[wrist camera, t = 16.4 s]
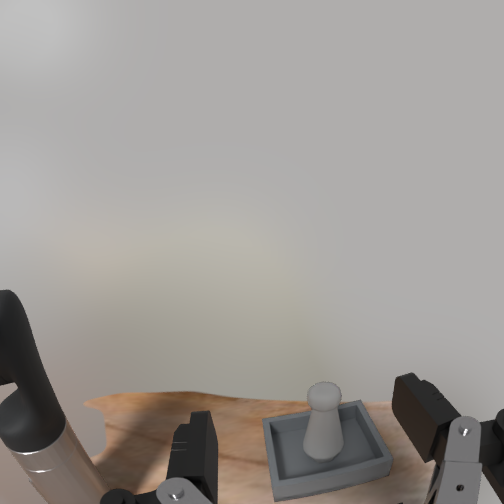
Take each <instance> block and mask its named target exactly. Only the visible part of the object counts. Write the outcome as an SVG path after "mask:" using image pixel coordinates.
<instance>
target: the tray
mask: <svg viewBox="0 0 504 504" xmlns="http://www.w3.org/2000/svg"><path fill="white" fill-rule="evenodd" d="M337 408H338V414H339V419H340V424H341V430H342V435H343V441H344V445H343V448H342V450H341V452H340V453H339V454H338V455H337V456H336V457H335V458H334V459H333V460H332V461H331V462H325V463H317V462H316V461H314V460H313V459H311V458H310V457H309V456H308V455H307V454H306V453H305V451H304V449H303V441H304V437H305V434H306V430H307V426H308V423H309V419H310V415H311V411H307V412H302V413H296V414H290V415H284V416H278V417H271V418H264V419H262V422H263V429H264V436H265V443H266V450H267V456H268V463H269V470H270V477H271V484H272V490H273V496H274V502H278V501H285V500H291V499H297V498H302V497H308V496H313V495H318V494H322V493H327V492H331V491H335V490H340V489H344V488H347V487H351V486H355V485H359V484H362V483H366V482H369V481H372V480H375V479H379V478H382V477H385V476H388V475H389V473H390V469H391V466H392V462H393V457H392V455H391V453H390V452H389V450H388V448H387V446H386V444H385V443H384V441H383V439H382V437H381V435H380V434H379V432H378V430H377V428H376V426H375V425H374V423H373V421H372V419H371V417H370V416H369V414H368V412H367V410H366V408H365V407H364V405H363V403H362V401H361V400H358V401H353V402H349V403H345V404H341V405H339V406H338V407H337Z"/></svg>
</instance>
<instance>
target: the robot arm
mask: <svg viewBox="0 0 504 504" xmlns="http://www.w3.org/2000/svg"><path fill="white" fill-rule="evenodd" d="M13 382H15V383H16V385H17V386H18V389H17V390H16V391H14V392H13V393H12V394H11V395H10V396H8V397H7V398H6V399H5V400H4V401H3V402H2V403H1V404H0V438H1V439H2V441H3V442H4V444H5V445H6V447H7V448H8V449H9V451H10V452H11V454H12V455H13V457H14V458H15V459H16V461H17V462H18V463H19V465H20V466H21V468H22V469H23V470H24V471H25V473H26V474H27V475H28V477H29V482H30V483H31V484H32V485H33V487H34V488H35V489H36V490H37V492H38V493H39V494H40V495H41V496H42V497H43V498H44V500H45V501H46V502H47V503H48V504H218V440H217V435H216V431H215V428H214V424H213V421H212V417H211V413H210V411H197V412H191V417H190V424H180V426H179V427H178V428H177V430H176V431H175V432H174V436H173V444H172V448H171V453H170V459H169V465H168V471H167V477H166V480H165V481H163V482H162V483H161V484H160V485H159V486H158V488H157V489H156V490H154V491H152V492H148V493H143V494H138V495H133V494H132V493H131V492H129V491H127V490H124V489H113V490H111V489H110V488H109V487H108V485H107V484H106V482H105V481H104V479H103V478H102V476H101V475H100V473H99V472H98V470H97V469H96V467H95V466H94V464H93V463H92V461H91V459H90V458H89V456H88V455H87V453H86V452H85V450H84V448H83V446H82V445H81V443H80V441H79V440H78V438H77V436H76V434H75V433H74V431H73V429H72V427H71V426H70V424H69V422H68V420H67V418H66V416H65V414H64V412H63V411H62V409H61V407H60V404H59V402H58V400H57V398H56V396H55V393H54V391H53V388H52V386H51V384H50V382H49V379H48V377H47V375H46V372H45V370H44V367H43V364H42V362H41V359H40V356H39V353H38V350H37V347H36V344H35V340H34V337H33V334H32V330H31V327H30V324H29V321H28V318H27V315H26V313H25V310H24V308H23V305H22V303H21V302H20V300H19V298H18V297H17V296H16V294H15V293H14V292H12V291H10V290H0V386H1V385H5V384H9V383H13ZM392 410H393V413H394V415H395V417H396V419H397V420H398V422H399V423H400V425H401V426H402V428H403V429H404V431H405V432H406V434H407V436H408V437H409V439H410V440H411V442H412V443H413V445H414V447H415V448H416V450H417V451H418V453H419V454H420V456H421V458H422V459H423V461H424V462H425V463H427V462H429V461H431V460H435V462H436V464H435V467H434V471H433V475H432V479H431V482H430V486H429V490H428V493H427V496H426V500H425V502H424V504H477V501H478V494H479V488H480V481H481V472H483V474H484V475H485V477H486V478H487V480H488V481H489V483H490V485H491V486H492V488H493V489H494V491H495V492H496V494H497V496H498V497H499V499H500V500H501V502H502V504H504V409H502V410H500V411H499V412H498V414H497V416H496V419H495V420H490V421H485V422H478V421H477V420H476V419H475V418H472V417H469V416H461V415H460V414H459V413H458V412H457V410H456V409H455V408H454V407H453V406H452V405H451V404H450V402H449V401H448V400H447V399H446V398H444V396H443V395H442V393H440V392H439V390H438V389H437V388H436V387H435V386H434V385H433V384H431V383H430V382H428V381H426V380H422V381H420V380H419V379H418V377H417V376H416V375H415V374H414V373H408V374H405V375H402V376H399V377H396V379H395V385H394V392H393V398H392ZM399 504H403V503H399Z"/></svg>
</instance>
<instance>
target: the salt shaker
mask: <svg viewBox="0 0 504 504" xmlns="http://www.w3.org/2000/svg"><path fill="white" fill-rule="evenodd" d="M341 397H342V395H341V391H340V388H339V387H338V386H337V385H336V384H334V383H330V382H320V383H317V384H315V385H313V386H312V387H310V389H309V391H308V394H307V399H308V405H309V406H310V407H311V408H312V411H311V415H310V419H309V423H308V426H307V430H306V434H305V437H304V441H303V449H304V451H305V453H306V454H307V455H308V456H309V457H310V458H311V459H313V460H314V461H316V462H317V463H325V462H331V461H332V460H333V459H334V458H335V457H336V456H337V455H338V454H339V453H340V452H341V450H342V448H343V445H344V441H343V435H342V430H341V424H340V419H339V414H338V408H337V407H338V406H339V404H340V401H341Z"/></svg>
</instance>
